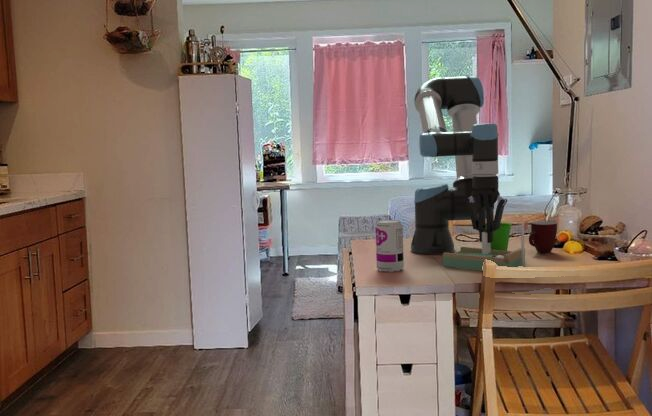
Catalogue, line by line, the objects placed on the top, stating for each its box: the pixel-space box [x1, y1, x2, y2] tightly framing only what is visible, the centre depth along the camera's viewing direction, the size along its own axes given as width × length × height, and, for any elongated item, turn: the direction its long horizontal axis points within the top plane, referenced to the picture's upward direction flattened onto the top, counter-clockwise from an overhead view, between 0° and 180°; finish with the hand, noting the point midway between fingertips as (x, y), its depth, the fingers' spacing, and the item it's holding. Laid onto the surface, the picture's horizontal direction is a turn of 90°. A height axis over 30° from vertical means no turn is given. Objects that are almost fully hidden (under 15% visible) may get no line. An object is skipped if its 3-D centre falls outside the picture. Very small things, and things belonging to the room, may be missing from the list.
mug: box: [528, 220, 558, 255], centre depth 196 cm, size 11×8×10 cm
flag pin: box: [520, 221, 528, 267], centre depth 174 cm, size 2×4×14 cm, turn 139°
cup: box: [491, 222, 512, 251], centre depth 192 cm, size 9×9×11 cm
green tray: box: [442, 246, 526, 272], centre depth 180 cm, size 21×12×5 cm, turn 49°
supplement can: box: [375, 219, 405, 273], centre depth 181 cm, size 8×8×15 cm
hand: (486, 253), depth 180 cm, fingers closed
